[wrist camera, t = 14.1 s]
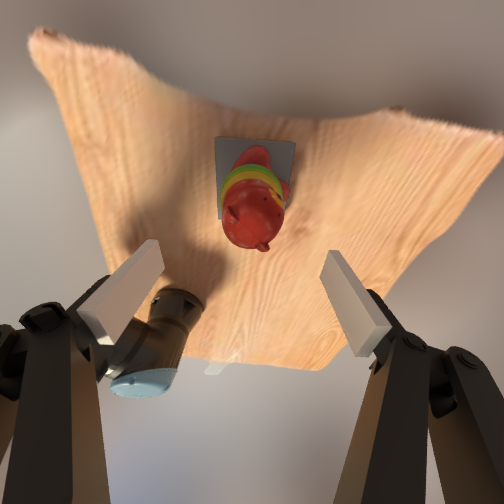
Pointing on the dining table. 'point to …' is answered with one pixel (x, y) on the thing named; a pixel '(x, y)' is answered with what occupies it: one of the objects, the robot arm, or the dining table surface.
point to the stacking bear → (253, 201)
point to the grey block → (235, 147)
